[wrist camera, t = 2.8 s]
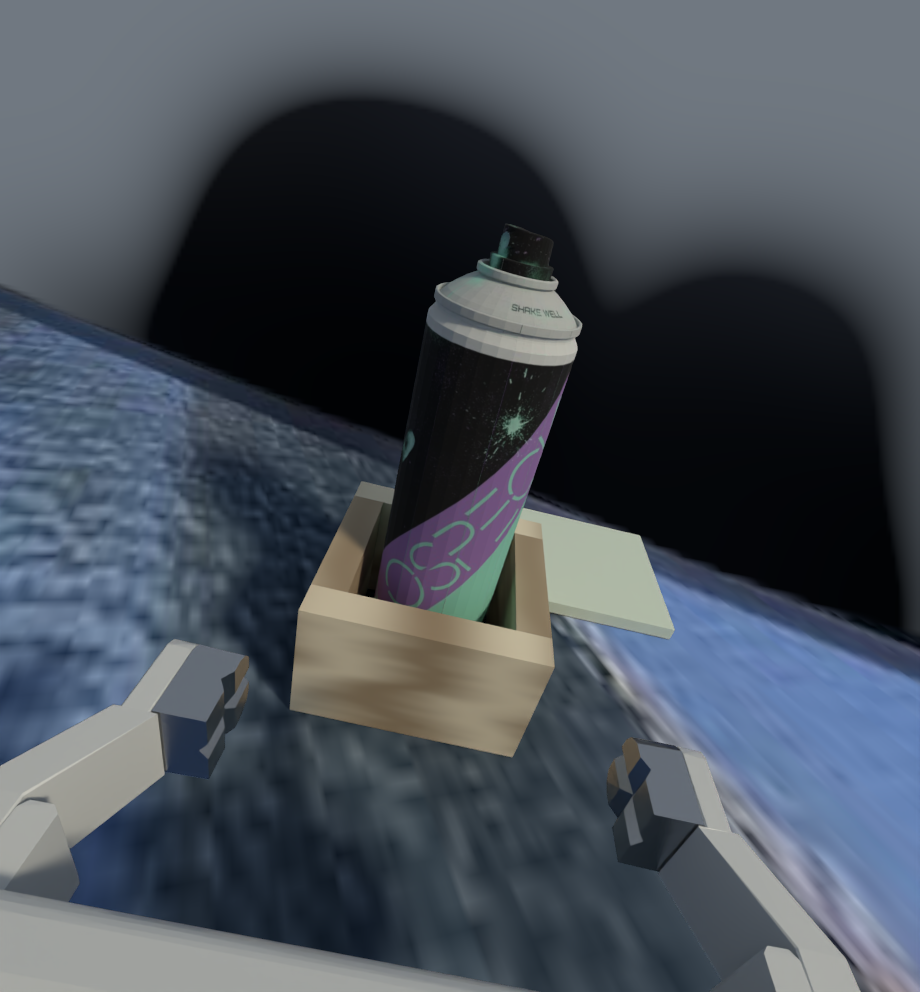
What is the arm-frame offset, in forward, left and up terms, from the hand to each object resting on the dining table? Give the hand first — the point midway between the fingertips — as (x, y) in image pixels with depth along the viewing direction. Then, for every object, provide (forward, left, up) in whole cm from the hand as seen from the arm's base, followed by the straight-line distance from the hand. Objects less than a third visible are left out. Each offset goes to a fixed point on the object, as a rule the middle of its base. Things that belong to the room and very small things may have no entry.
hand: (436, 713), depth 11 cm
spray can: (0, +12, -12) cm, 17 cm away
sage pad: (+10, +22, -11) cm, 27 cm away
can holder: (0, +12, -11) cm, 17 cm away
